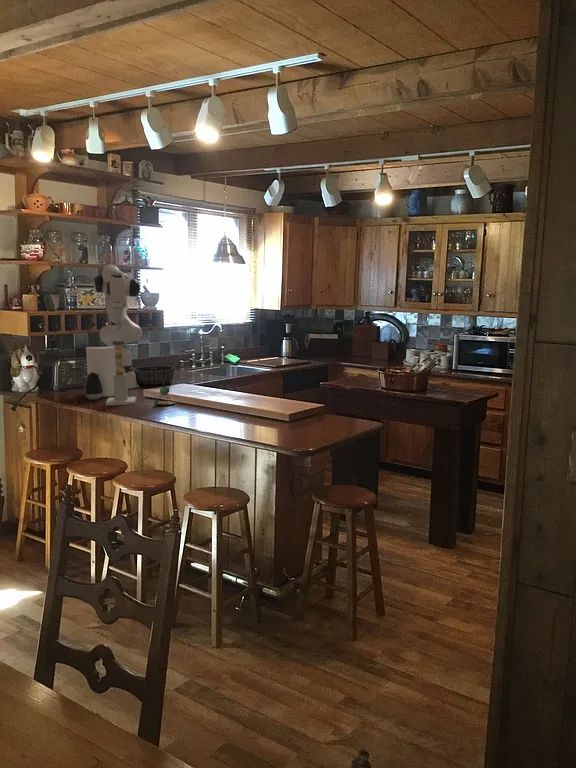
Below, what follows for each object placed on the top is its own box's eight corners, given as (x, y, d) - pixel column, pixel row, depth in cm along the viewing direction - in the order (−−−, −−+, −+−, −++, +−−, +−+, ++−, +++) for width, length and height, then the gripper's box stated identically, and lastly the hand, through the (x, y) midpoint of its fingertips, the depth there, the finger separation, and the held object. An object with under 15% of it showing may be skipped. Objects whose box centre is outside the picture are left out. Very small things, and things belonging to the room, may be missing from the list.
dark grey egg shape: (92, 401, 380) (90, 374, 377) (81, 399, 386) (79, 372, 384) (107, 398, 388) (105, 372, 385) (95, 396, 394) (94, 370, 392)
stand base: (108, 400, 382) (107, 372, 379) (136, 399, 384) (134, 372, 382) (106, 405, 367) (104, 376, 365) (134, 404, 370) (133, 375, 367)
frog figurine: (144, 406, 363) (145, 379, 362) (171, 405, 376) (172, 378, 375) (155, 408, 357) (156, 380, 356) (182, 407, 370) (183, 380, 369)
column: (115, 387, 377) (113, 340, 373) (126, 386, 378) (124, 340, 374) (114, 389, 371) (112, 341, 367) (125, 388, 372) (123, 341, 368)
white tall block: (114, 396, 393) (112, 348, 389) (84, 396, 394) (81, 348, 389) (122, 391, 410) (120, 345, 406) (93, 391, 411) (91, 345, 406)
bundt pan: (124, 385, 432) (124, 369, 430) (148, 379, 456) (148, 364, 454) (160, 387, 422) (159, 371, 420) (182, 381, 446) (182, 366, 444)
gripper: (114, 302, 389) (115, 326, 391) (111, 305, 369) (112, 330, 372) (125, 302, 390) (126, 326, 392) (123, 304, 370) (124, 330, 373)
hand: (119, 328), depth 382 cm, fingers open, 8 cm apart
